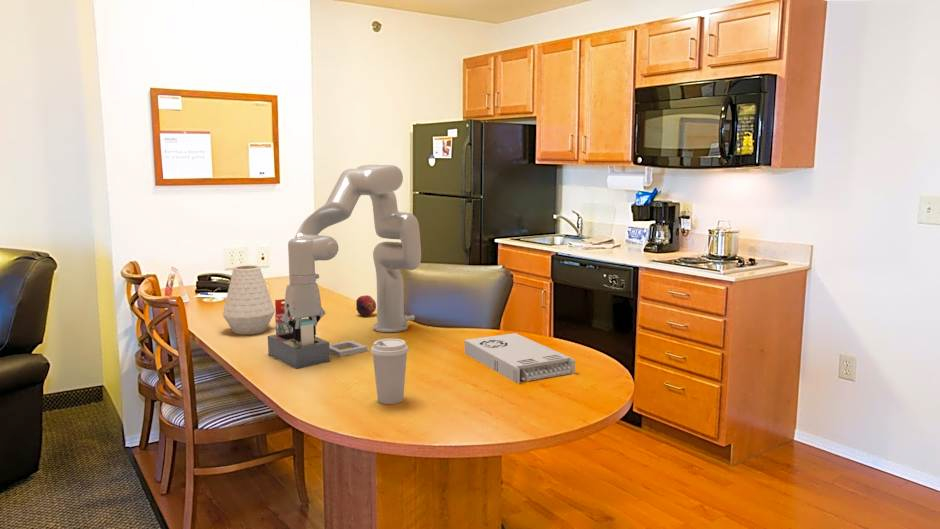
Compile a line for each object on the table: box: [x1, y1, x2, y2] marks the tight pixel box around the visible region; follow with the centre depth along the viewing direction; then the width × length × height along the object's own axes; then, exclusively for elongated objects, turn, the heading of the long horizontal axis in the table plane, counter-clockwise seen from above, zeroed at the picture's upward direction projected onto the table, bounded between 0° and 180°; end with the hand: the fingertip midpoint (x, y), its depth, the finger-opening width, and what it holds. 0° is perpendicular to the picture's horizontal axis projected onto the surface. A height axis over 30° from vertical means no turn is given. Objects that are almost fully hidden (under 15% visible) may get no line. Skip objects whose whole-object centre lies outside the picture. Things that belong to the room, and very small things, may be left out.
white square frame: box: [329, 339, 368, 358], centre depth 212 cm, size 10×10×2 cm
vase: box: [222, 264, 276, 336], centre depth 234 cm, size 18×17×23 cm
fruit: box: [355, 294, 377, 317], centre depth 259 cm, size 8×8×8 cm
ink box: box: [274, 298, 303, 335], centre depth 221 cm, size 4×8×15 cm, turn 123°
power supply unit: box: [464, 332, 576, 385], centre depth 199 cm, size 19×33×5 cm, turn 27°
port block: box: [267, 331, 331, 370], centre depth 204 cm, size 11×19×6 cm, turn 41°
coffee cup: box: [370, 338, 410, 405], centre depth 167 cm, size 10×10×15 cm
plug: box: [296, 317, 314, 346], centre depth 199 cm, size 4×4×9 cm
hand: (304, 338), depth 200 cm, fingers closed on plug, 4 cm apart
